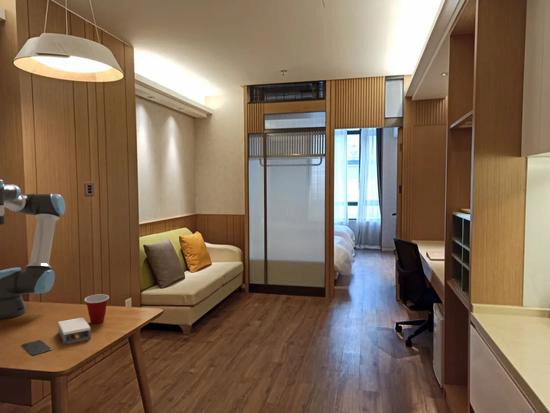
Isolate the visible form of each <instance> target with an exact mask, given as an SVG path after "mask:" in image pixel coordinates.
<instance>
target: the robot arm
mask: <svg viewBox="0 0 550 413" xmlns="http://www.w3.org/2000/svg"><path fill="white" fill-rule="evenodd" d="M5 208H6V209H8V210H9V211H11V212H15V213H19V214H25V215H30V216H34V218H36V225H35V231H34V236H33V237H34V238H33V242H32V243H33V244H32V248H31V255H30V260H29V264H27V265H25V269H24V270H22V268H21V267H11V268H6V269H5V268H4V269H3V270H2V269H1V270H0V320H1V319H3V320H4V319H10V318H14V317H15V318H16V317H18V316H21V315H24V314H26V313H27V306H26V305H25V304H26V303H25V301H24V299H23V297H22V296H23V294H24V295H25V294H29V295H30V294H37V295H38V294H46V293H48V292H49V291H50V290H51V289H52V288H53V286H54V283H55V279H56V275H55V274H56V273H55V272H54V270H52V269H53V268H52V266H51V265H50V259H51V258H50V257H51V254H52V253H51V252H52V246H53V241H54V234H55V228H56V223H57V221H59V220H60V216H63V215H65V213H66V202H65V199H64V198H63V196H62V195H61V194H58V193H57V194H56V193H26V194H25V193H23V194H22V191H21V188H20V187H19V186H18V185H16V184H11V183H6V184H5V183H4V180H3V179H0V226H1V225H4V224H5V223H6V222H5V220H6V219H5Z"/></svg>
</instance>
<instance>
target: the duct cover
mask: <svg viewBox="0 0 550 413" xmlns="http://www.w3.org/2000/svg"><path fill="white" fill-rule="evenodd" d="M58 324H59V326H60V328H61V330H62V332H63V334H64V335H67V334H72V333H77V332H82V331H87V330H90V331H91V326H90V325H89V324H88V322H87V321H86V319H85V318H84V317H83V316H82V317H78V318H72V319H67V320H66V319H65V320H61V321H58Z"/></svg>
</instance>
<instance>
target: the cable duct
mask: <svg viewBox="0 0 550 413" xmlns="http://www.w3.org/2000/svg"><path fill="white" fill-rule="evenodd" d="M57 326H58V335H59V337H60V339H61V341H62V343H63V345H69V344H73V343H78V342H83V341H88V340H91V332H92V331H91V329H90V330H87V331H82V332H77V333H72V334H67V335H64V334H63V332H62V330H61V328H60V326H59V324H58V325H57Z"/></svg>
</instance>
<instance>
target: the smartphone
mask: <svg viewBox="0 0 550 413" xmlns="http://www.w3.org/2000/svg"><path fill="white" fill-rule="evenodd" d="M21 348H23V350H25V352H26V353H28V354H29V355H30V356H31V357H34V356H37V355H42V354H46V353H48V352H52V351H53V348H52V347H50V346H49V345H48V344H47V343H45V342H44V341H43V340H41V339H38V340H33V341H30V342H26V343H23V344H21Z"/></svg>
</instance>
